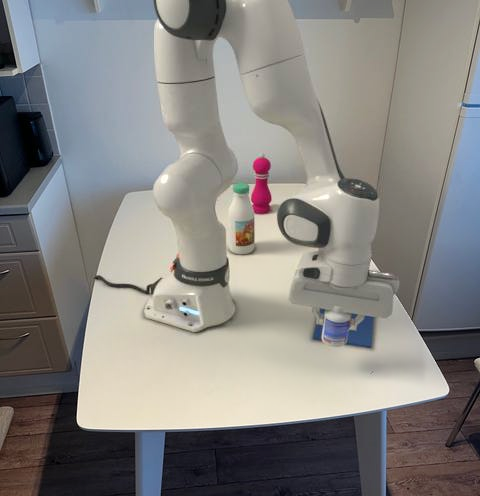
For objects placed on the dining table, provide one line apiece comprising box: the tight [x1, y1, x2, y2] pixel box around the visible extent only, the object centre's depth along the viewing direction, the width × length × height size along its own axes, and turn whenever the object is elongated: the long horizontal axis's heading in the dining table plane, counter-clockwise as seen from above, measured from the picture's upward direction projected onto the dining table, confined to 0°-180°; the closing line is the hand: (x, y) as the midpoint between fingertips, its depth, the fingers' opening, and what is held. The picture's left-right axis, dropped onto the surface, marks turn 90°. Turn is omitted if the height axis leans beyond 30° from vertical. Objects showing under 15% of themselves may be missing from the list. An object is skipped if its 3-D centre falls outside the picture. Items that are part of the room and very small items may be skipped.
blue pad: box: [312, 308, 375, 349], centre depth 119 cm, size 13×20×1 cm, turn 165°
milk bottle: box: [227, 182, 256, 255], centre depth 143 cm, size 8×8×20 cm
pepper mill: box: [250, 152, 272, 215], centre depth 167 cm, size 7×7×20 cm
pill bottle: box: [321, 306, 351, 348], centre depth 100 cm, size 5×5×10 cm
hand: (335, 325), depth 100 cm, fingers closed on pill bottle, 5 cm apart
